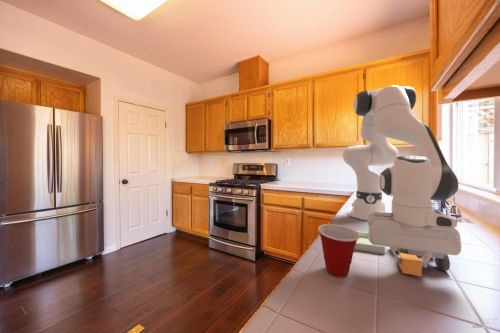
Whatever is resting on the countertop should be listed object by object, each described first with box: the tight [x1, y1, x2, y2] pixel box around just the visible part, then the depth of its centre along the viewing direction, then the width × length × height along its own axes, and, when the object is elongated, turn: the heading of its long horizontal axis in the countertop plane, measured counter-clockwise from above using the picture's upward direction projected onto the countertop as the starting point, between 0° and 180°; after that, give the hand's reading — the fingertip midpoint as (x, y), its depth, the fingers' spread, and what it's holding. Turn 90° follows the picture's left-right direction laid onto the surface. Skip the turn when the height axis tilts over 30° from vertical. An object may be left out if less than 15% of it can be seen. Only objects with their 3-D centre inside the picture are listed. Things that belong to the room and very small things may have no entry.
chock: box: [398, 253, 423, 277], centre depth 58 cm, size 5×4×4 cm
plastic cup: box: [317, 223, 360, 278], centre depth 58 cm, size 11×11×12 cm
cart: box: [395, 248, 451, 272], centre depth 65 cm, size 14×11×8 cm
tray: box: [354, 230, 386, 255], centre depth 77 cm, size 13×10×2 cm
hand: (409, 264), depth 58 cm, fingers closed on chock, 4 cm apart
